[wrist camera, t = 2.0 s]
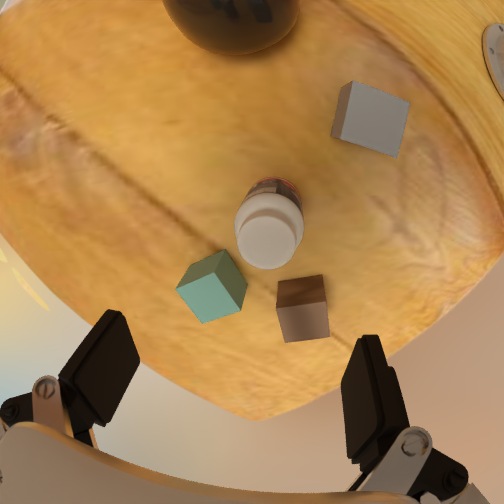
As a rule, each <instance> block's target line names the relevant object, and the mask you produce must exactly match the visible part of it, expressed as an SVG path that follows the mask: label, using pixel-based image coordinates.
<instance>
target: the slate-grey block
mask: <svg viewBox="0 0 504 504" xmlns="http://www.w3.org/2000/svg"><path fill="white" fill-rule="evenodd" d="M409 106H410V102H408V101H405V100H403V99H401V98H399V97H396V96H394V95H391V94H389V93H386V92H384V91H381V90H379V89H376V88H373V87H371V86H368V85H365V84H362V83H359V82H356V81H351V82H350V83H348V84H347V85H345V86H344V87H342V88H341V92H340V96H339V101H338V105H337V110H336V114H335V119H334V123H333V127H332V132H331V137H335V138H338V139H341V140H344V141H348V142H351V143H354V144H357V145H360V146H363V147H366V148H369V149H372V150H375V151H378V152H381V153H383V154H386V155H389V156H391V157H394V158H397V157H398V153H399V149H400V145H401V141H402V137H403V133H404V129H405V125H406V120H407V116H408V111H409Z"/></svg>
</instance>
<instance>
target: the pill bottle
mask: <svg viewBox="0 0 504 504" xmlns="http://www.w3.org/2000/svg"><path fill="white" fill-rule="evenodd" d="M234 231H235V235H236V238H237V246H238V250H239V252H240V254H241V256H242V257H243V259H244V260H245V261H246V262H247V263H249V264H250V265H252V266H254V267H256V268H259V269H265V270H270V269H276V268H279V267H281V266H283V265H285V264H286V263H287V262H288V261H289V260H290V259H291V258H292V256H293V254H294V252H295V249H296V248H297V247H298V245H299V244H300V242H301V240H302V237H303V233H304V219H303V213H302V206H301V199H300V196H299V193H298V191H297V190H296V188H295V187H294V186H293V185H292V184H291V183H290V182H288V181H286V180H284V179H282V178H278V177H269V178H264V179H262V180H260V181H258V182H257V183H256V184H254V185H253V187H252V188H251V189H250V190H249V192H248V194H247V196H246V197H245V199H244V201H243V202H242V204H241V206H240V208H239V210H238V211H237V214H236V217H235V221H234Z"/></svg>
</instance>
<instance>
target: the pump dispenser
mask: <svg viewBox="0 0 504 504" xmlns="http://www.w3.org/2000/svg"><path fill="white" fill-rule="evenodd" d="M162 1H163V4H164V7H165V9H166V11H167V13H168V14H169V16H170V18H171V19H172V21H173V22H174V24H175V25H176V26H177V27H178V29H179V30H180V31H181V32H182V33H183V35H184V36H185V37H186V38H188V39H189V40H190V41H191V42H192V43H194V44H195V45H197V46H198V47H200V48H202V49H204V50H207V51H209V52H213V53H217V54H223V55H243V54H249V53H254V52H257V51H260V50H263V49H265V48H268V47H270V46H272V45H274V44H275V43H277V42H278V41H280V40H281V39H282V38H283V37H285V36H286V35H287V34H288V33H289V32H290V30H291V29H292V28H293V26H294V24H295V23H296V20H297V18H298V14H299V9H300V0H162Z"/></svg>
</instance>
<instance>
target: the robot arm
mask: <svg viewBox="0 0 504 504" xmlns="http://www.w3.org/2000/svg"><path fill="white" fill-rule="evenodd" d="M483 52H484V57H485V61H486V64H487V67H488V70H489V73H490V75H491V78H492V80H493V82H494V84H495V86H496V88H497V90H498V92H499V93H500V95H501V97H502V98H503V99H504V24H500V23H495V24H491V25H489V26H488V27H487V28H486V29H485V31H484V34H483ZM139 364H140V357H139V354H138V352H137V349H136V347H135V344H134V341H133V338H132V336H131V333H130V330H129V327H128V324H127V321H126V318H125V316H123V315H122V313H121V312H120V311H115V310H110V309H108V310H107V311H106V312H105V313H104V314H103V315H102V317H101V318H100V319H99V320H98V322H97V323H96V324H95V325H94V327H93V328H92V330H91V331H90V332H89V333H88V335H87V336H86V337H85V339H84V340H83V342H82V343H81V344H80V345H79V347H78V348H77V349H76V351H75V352H74V353H73V355H72V356H71V358H70V359H69V360H68V362H67V363H66V365H65V366H64V367H63V369H62V370H61V372H60V373H59V375H58V376H59V379H58V380H57V379H56V378H55V377H53V376H49V375H48V376H43V377H41V378H39V379H38V380H37V381H36V383H34V386H33V389H32V392H30V393H27V394H23V395H20V396H16V397H13V398H9V399H7V400H6V401H5V402H3V404H2V405H1V408H0V504H490V503H489V502H488V501H487V499H486V498H485V497H484V496H483V495H482V494H481V492H480V491H479V490H478V489H477V488H476V487H475V485H474V484H473V483H471V484H469V483H468V471H467V469H466V468H465V467H464V466H463V465H462V464H460V463H458V462H456V461H455V460H453V459H451V458H449V457H448V456H446V455H444V454H443V453H441V452H439V451H438V450H436V449H434V448H432V438H431V436H430V434H429V433H428V431H426V430H425V429H423V428H420V427H416V426H412V427H410V425H409V421H408V417H407V412H406V408H405V404H404V400H403V397H402V393H401V390H400V386H399V382H398V379H397V376H396V372H395V370H394V368H393V367H390V366H388V364H387V361H386V358H385V354H384V351H383V348H382V345H381V342H380V339H379V336H378V335H363V336H362V338H358V339H357V341H356V344H355V347H354V350H353V352H352V355H351V358H350V360H349V363H348V365H347V368H346V370H345V373H344V375H343V378H342V381H341V394H342V401H343V412H344V421H345V434H346V447H347V457H348V458H349V459H352V464H359V463H360V471H361V473H360V474H359V475H358V477H357V478H356V479H355V480H354V482H353V483H352V484H351V485H350V486H349V487H348V488H347V490H346V491H345V492H331V493H273V492H258V491H248V490H239V489H232V488H224V487H219V486H213V485H208V484H203V483H198V482H193V481H189V480H185V479H180V478H177V477H173V476H169V475H166V474H162V473H159V472H155V471H152V470H149V469H146V468H143V467H140V466H137V465H134V464H132V463H129V462H126V461H124V460H121V459H119V458H116V457H114V456H111V455H109V454H107V453H104V452H102V451H100V450H99V449H98V446H97V443H96V440H95V436H94V433H93V429H92V426H93V424H94V423H95V424H98V425H100V426H102V427H105V426H106V423H109V422H110V421H111V419H112V417H113V415H114V413H115V411H116V409H117V407H118V405H119V403H120V401H121V399H122V397H123V395H124V393H125V391H126V389H127V387H128V385H129V383H130V381H131V379H132V378H133V376H134V374H135V372H136V370H137V368H138V366H139Z"/></svg>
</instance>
